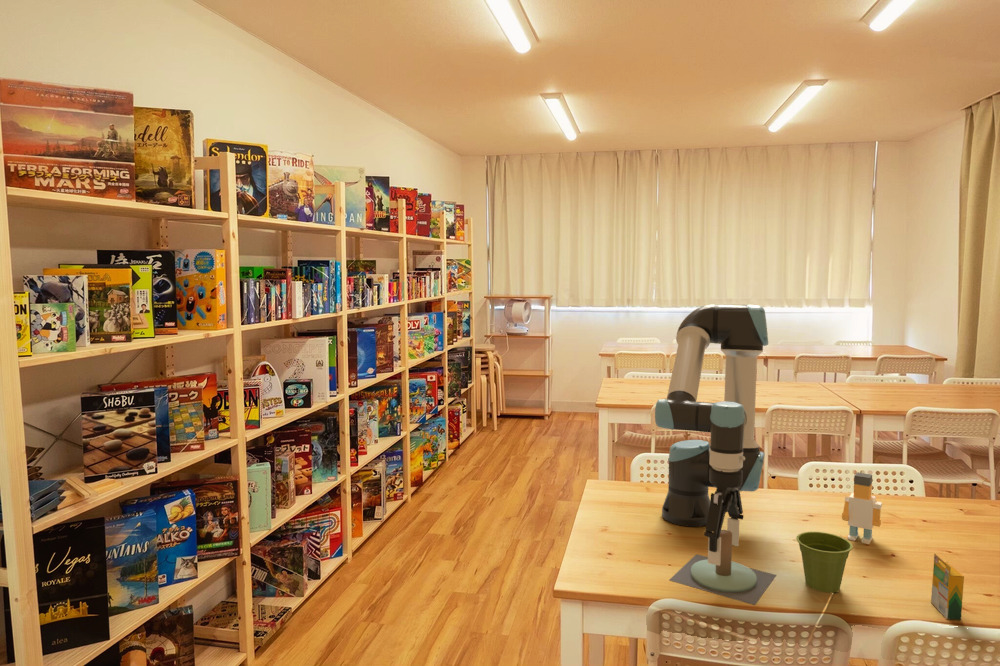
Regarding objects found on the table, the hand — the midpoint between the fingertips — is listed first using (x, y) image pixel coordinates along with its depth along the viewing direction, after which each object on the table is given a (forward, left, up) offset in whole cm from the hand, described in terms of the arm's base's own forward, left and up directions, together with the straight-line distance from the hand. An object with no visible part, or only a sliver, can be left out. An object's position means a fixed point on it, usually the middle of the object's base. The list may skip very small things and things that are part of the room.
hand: (723, 554), depth 159 cm
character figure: (+22, +47, -7) cm, 52 cm away
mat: (0, 0, -7) cm, 7 cm away
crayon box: (+44, +14, -7) cm, 47 cm away
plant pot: (+20, +10, -7) cm, 23 cm away
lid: (0, 0, -6) cm, 6 cm away
